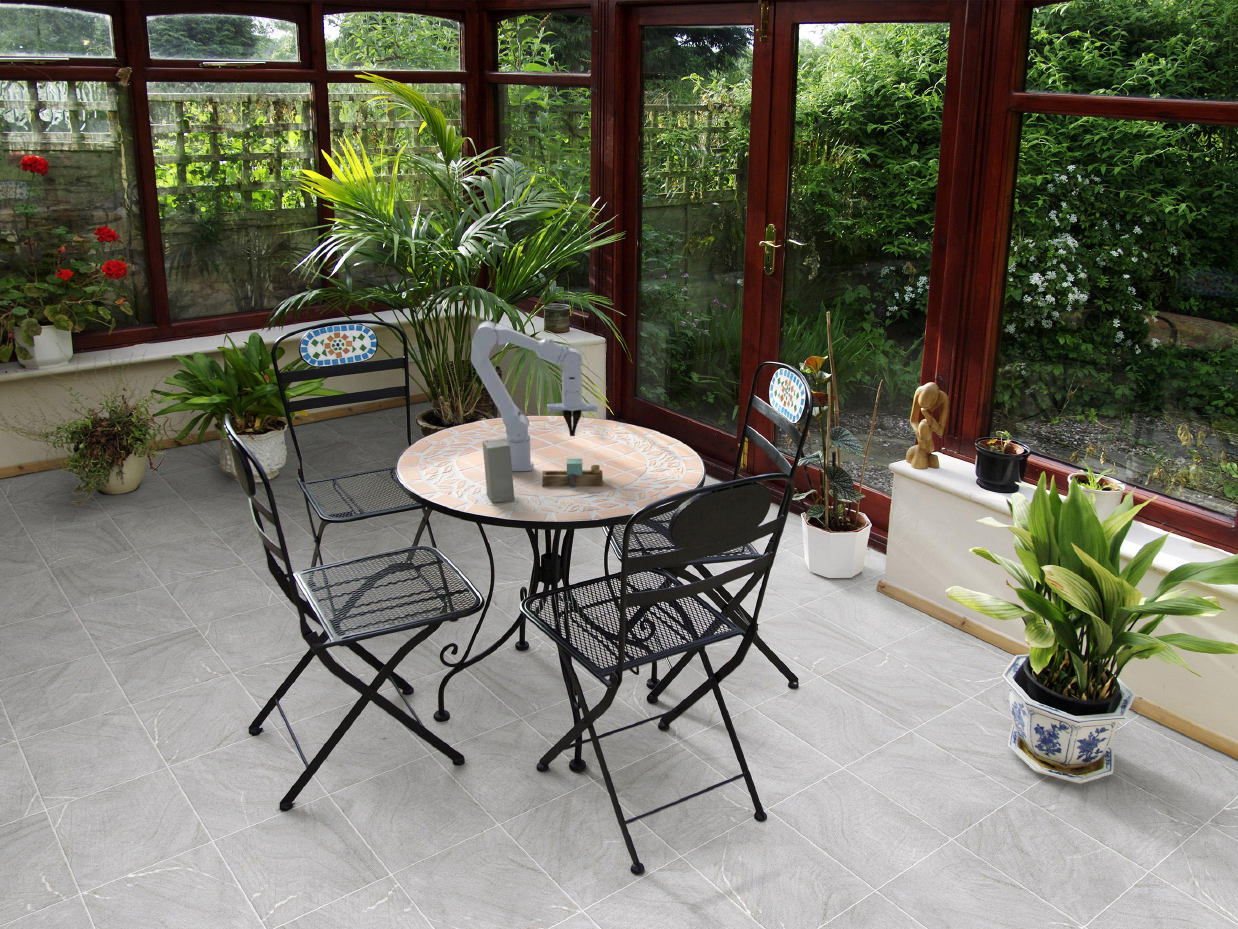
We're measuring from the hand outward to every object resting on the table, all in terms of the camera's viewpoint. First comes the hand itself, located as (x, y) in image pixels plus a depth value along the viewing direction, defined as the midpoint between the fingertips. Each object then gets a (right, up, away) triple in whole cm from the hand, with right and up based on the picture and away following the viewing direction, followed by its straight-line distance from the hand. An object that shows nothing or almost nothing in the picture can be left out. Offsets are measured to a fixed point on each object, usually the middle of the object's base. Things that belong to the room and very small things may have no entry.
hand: (572, 435), depth 324 cm
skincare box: (-19, -18, -22) cm, 34 cm away
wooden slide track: (+1, -14, -11) cm, 18 cm away
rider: (+1, -12, -11) cm, 17 cm away
